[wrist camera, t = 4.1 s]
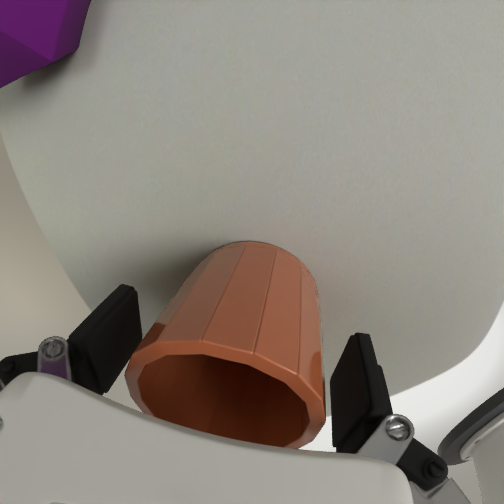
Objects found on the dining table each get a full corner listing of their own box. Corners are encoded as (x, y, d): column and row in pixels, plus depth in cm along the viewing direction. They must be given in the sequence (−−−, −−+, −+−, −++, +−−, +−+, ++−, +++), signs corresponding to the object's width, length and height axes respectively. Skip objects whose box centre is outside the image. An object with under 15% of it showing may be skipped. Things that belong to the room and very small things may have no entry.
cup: (333, 255, 12) (358, 368, 6) (301, 358, 15) (294, 466, 9) (194, 229, 13) (109, 312, 7) (190, 335, 16) (141, 429, 9)
